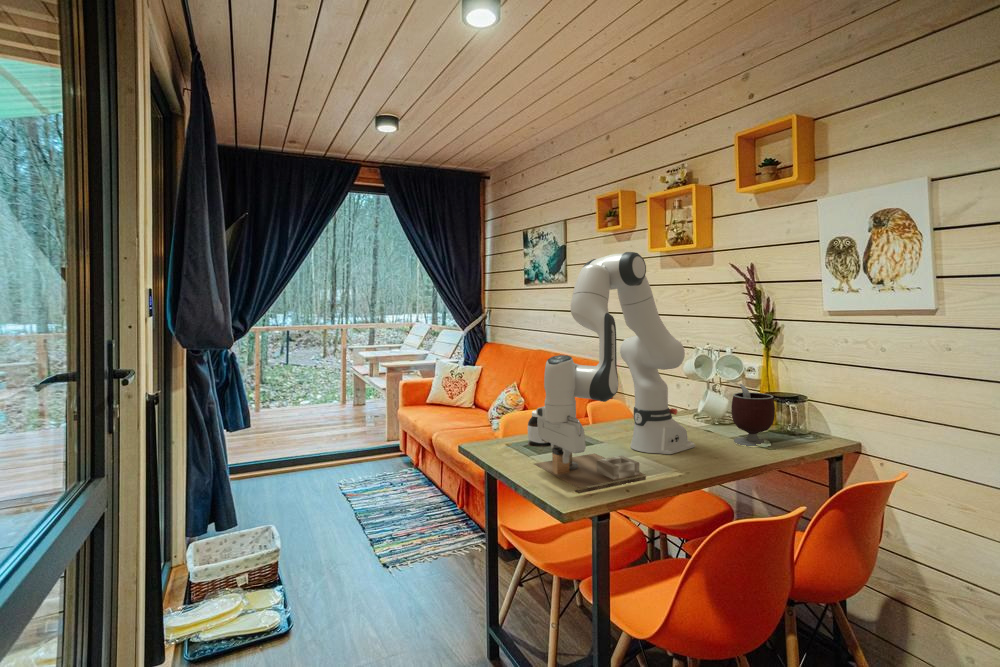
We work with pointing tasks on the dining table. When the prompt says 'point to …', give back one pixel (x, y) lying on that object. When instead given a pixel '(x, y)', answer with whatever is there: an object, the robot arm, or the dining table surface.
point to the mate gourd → (752, 415)
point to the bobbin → (572, 464)
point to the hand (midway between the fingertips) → (561, 461)
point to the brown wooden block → (559, 462)
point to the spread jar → (535, 431)
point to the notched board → (587, 474)
